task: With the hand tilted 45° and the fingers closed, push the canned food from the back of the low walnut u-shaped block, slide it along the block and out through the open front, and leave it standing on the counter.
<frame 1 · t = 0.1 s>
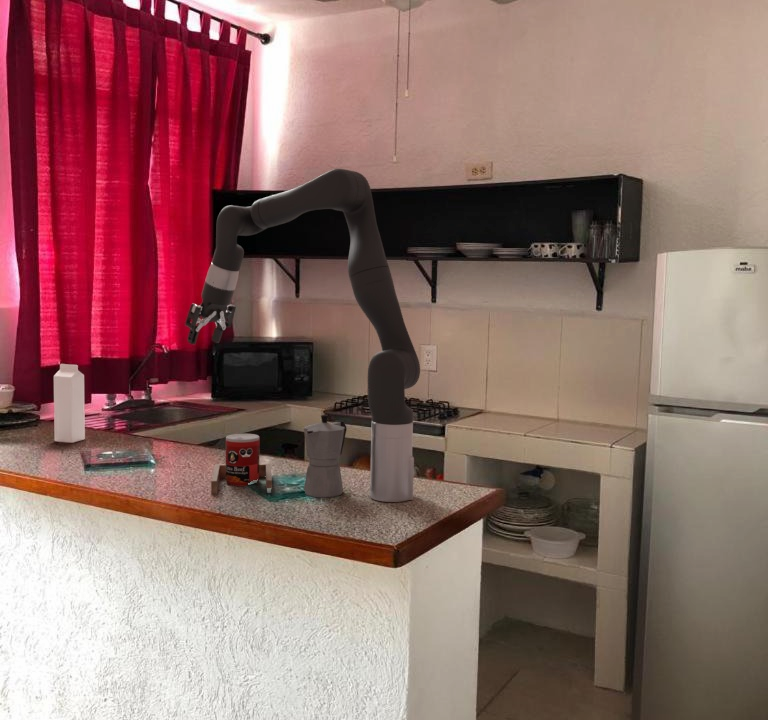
hand: (203, 342, 220), 31 cm above the worktop, tool tilted 20°, fingers open, 8 cm apart
milk: (69, 440, 250), on the worktop
walnut u-shaped block: (242, 485, 202), on the worktop
canned food: (242, 483, 205), resting in walnut u-shaped block
coffeepot: (325, 492, 198), on the worktop
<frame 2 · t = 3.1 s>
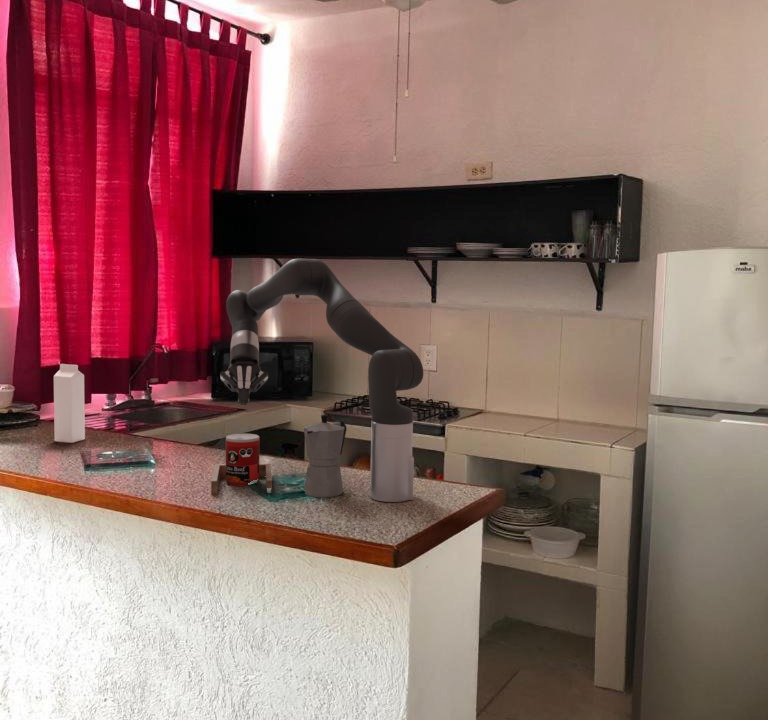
hand: (243, 403, 222), 16 cm above the worktop, tool tilted 45°, fingers closed
nothing on the worktop moved.
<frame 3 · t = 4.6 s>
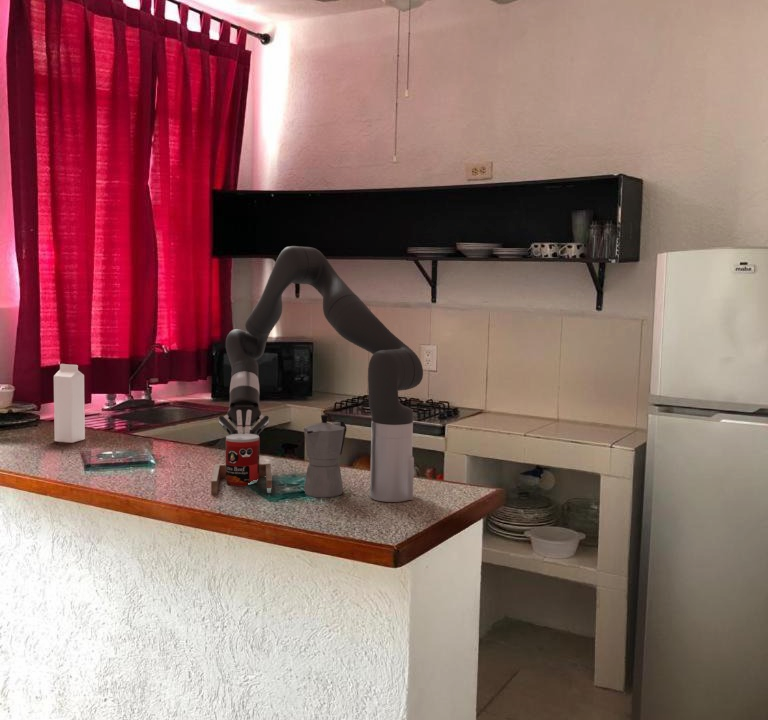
hand: (243, 449, 212), 6 cm above the worktop, tool tilted 45°, fingers closed
nothing on the worktop moved.
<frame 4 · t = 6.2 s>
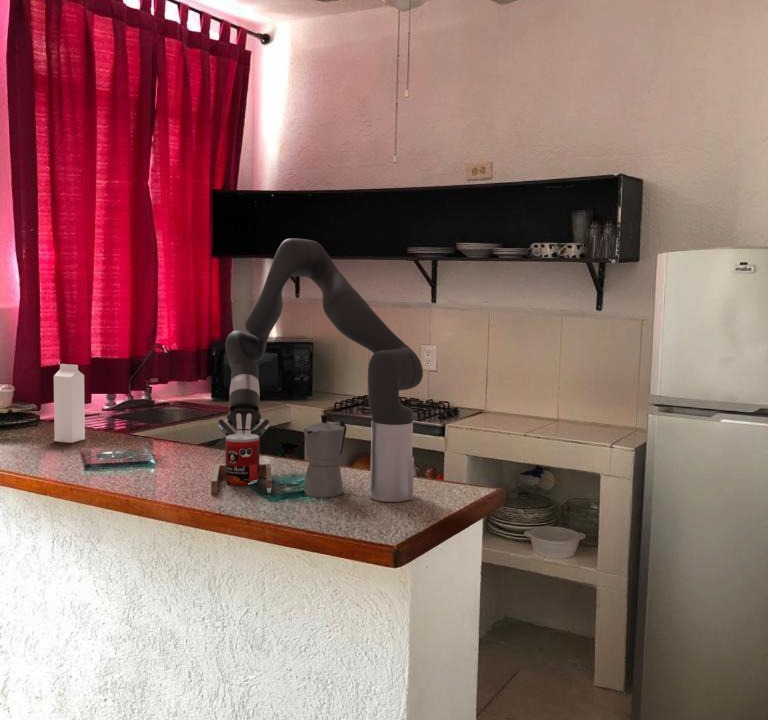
hand: (243, 454, 209), 6 cm above the worktop, tool tilted 45°, fingers closed
canned food: (242, 483, 205), resting in walnut u-shaped block, touching gripper
everything else where it was.
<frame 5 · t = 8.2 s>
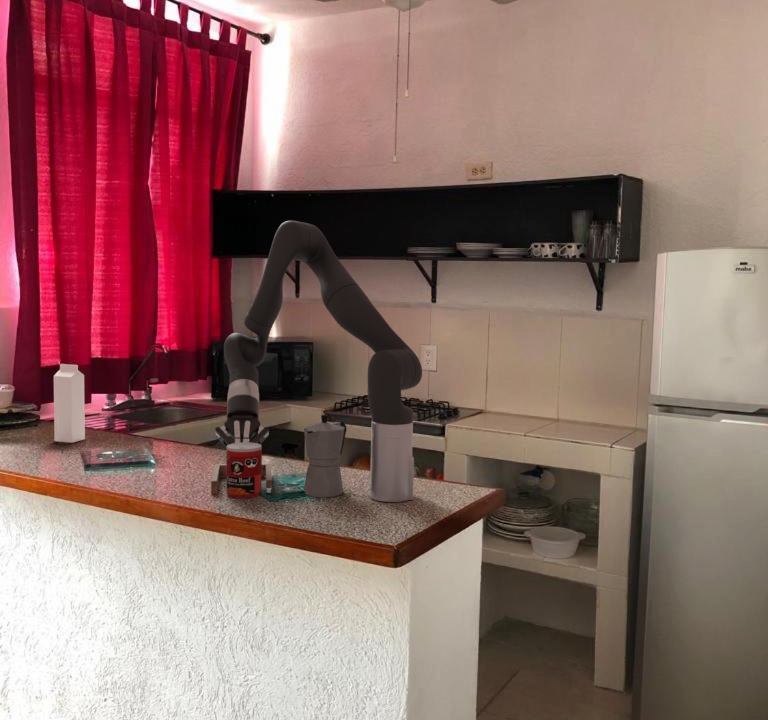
hand: (241, 464, 198), 6 cm above the worktop, tool tilted 45°, fingers closed
canned food: (243, 494, 194), on the worktop, touching gripper
everything else where it was.
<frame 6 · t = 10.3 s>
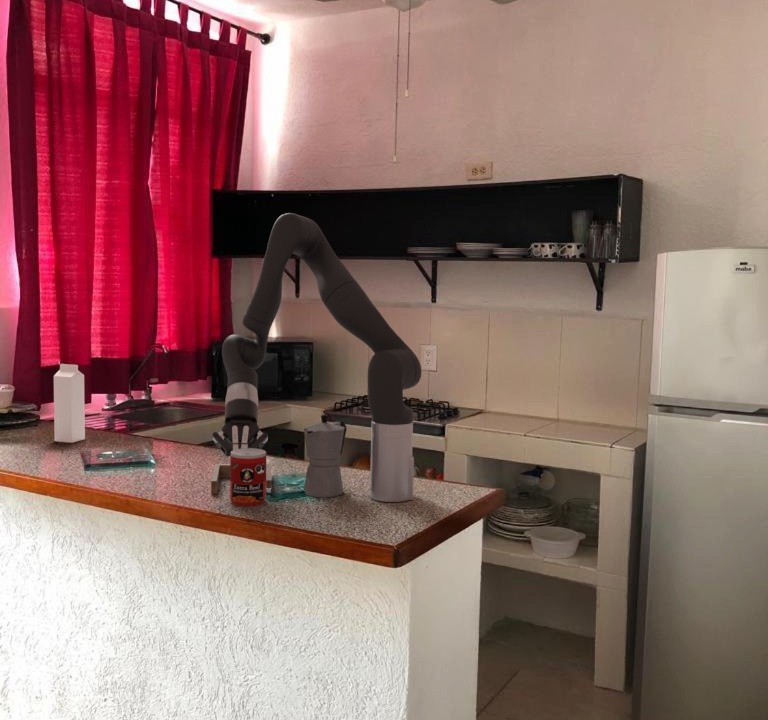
hand: (239, 470, 191), 6 cm above the worktop, tool tilted 45°, fingers closed
canned food: (247, 502, 188), on the worktop, touching gripper
everything else where it was.
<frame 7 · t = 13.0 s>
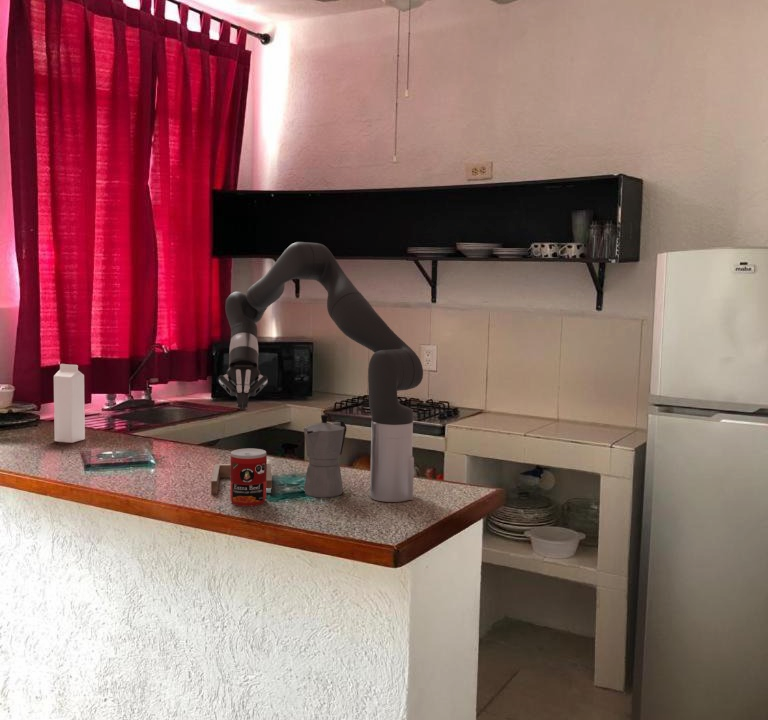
hand: (242, 407, 218), 16 cm above the worktop, tool tilted 45°, fingers closed
canned food: (248, 502, 188), on the worktop
everything else where it was.
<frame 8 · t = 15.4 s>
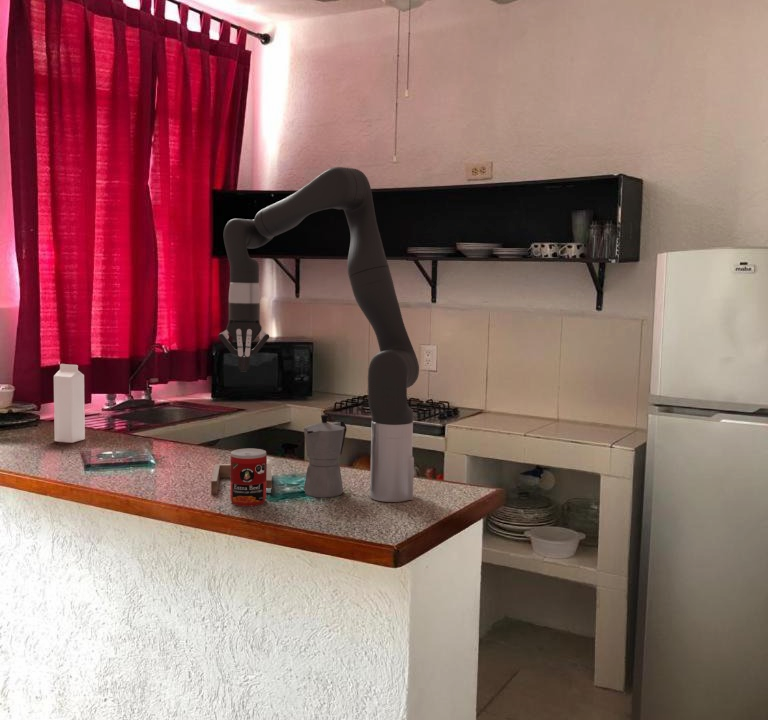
hand: (243, 371, 214), 25 cm above the worktop, tool pointing down, fingers closed
nothing on the worktop moved.
at the end: canned food inside the target area (5.1 cm from its centre), on the worktop; canned food tilted 0°; canned food moved 17.8 cm from its start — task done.
